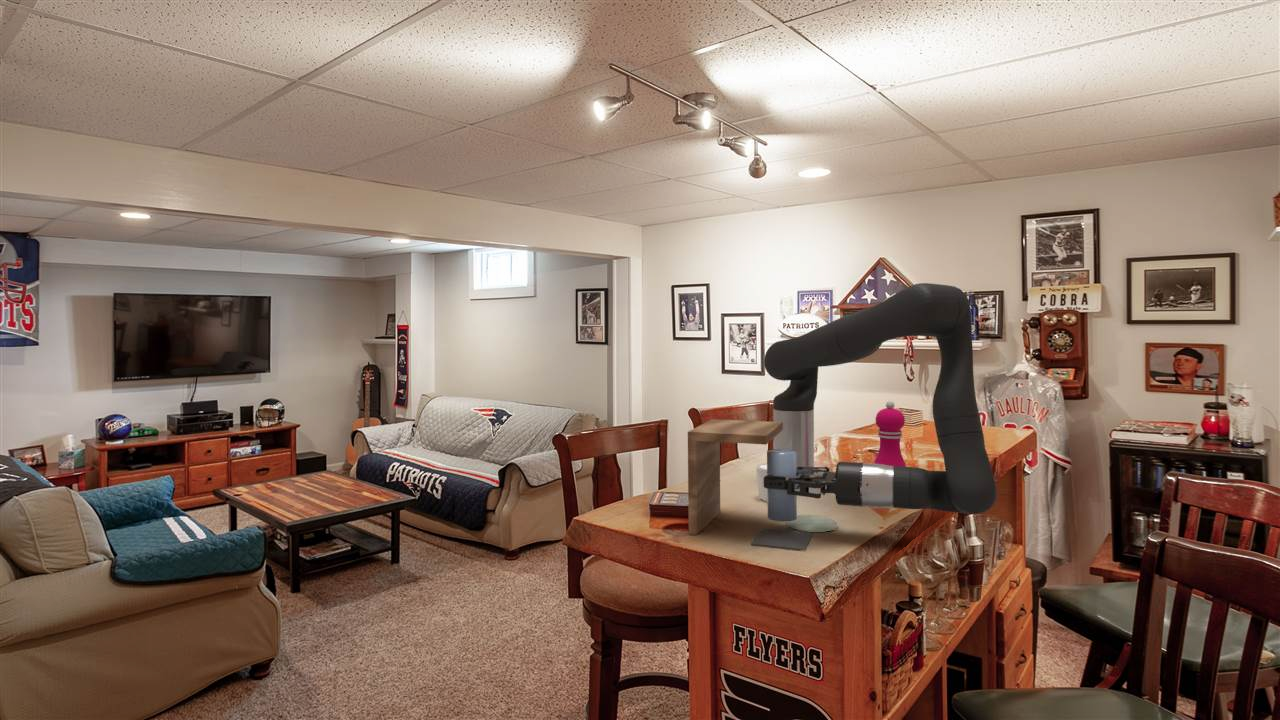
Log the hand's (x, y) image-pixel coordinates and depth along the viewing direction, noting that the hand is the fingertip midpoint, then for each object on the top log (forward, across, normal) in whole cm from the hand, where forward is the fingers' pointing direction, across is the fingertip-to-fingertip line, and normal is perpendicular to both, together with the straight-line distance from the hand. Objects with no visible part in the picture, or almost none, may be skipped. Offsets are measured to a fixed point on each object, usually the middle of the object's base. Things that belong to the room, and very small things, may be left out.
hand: (767, 478), depth 122 cm
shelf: (+6, 0, +9) cm, 11 cm away
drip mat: (-3, +6, +9) cm, 11 cm away
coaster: (-7, -5, +9) cm, 13 cm away
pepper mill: (-20, -35, +10) cm, 41 cm away
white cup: (+3, -21, +10) cm, 23 cm away
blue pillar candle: (-3, 0, +7) cm, 7 cm away
